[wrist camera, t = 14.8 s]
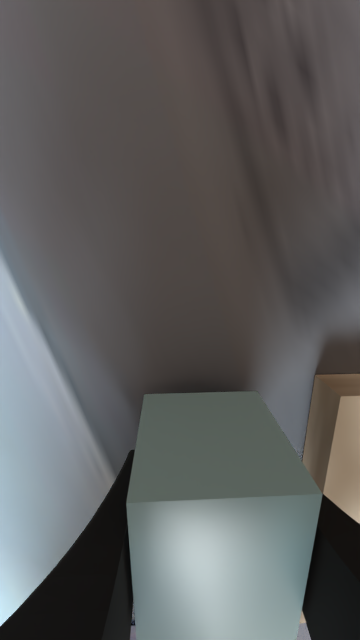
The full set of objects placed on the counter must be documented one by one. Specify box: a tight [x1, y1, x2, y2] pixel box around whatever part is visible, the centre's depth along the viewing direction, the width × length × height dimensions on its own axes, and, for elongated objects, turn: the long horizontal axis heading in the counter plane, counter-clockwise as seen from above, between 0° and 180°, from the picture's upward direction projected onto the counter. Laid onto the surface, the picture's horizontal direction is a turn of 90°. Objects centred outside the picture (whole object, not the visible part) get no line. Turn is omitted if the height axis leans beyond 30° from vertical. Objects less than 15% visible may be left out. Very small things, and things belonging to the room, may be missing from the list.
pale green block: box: [126, 391, 323, 640], centre depth 10 cm, size 5×6×5 cm
